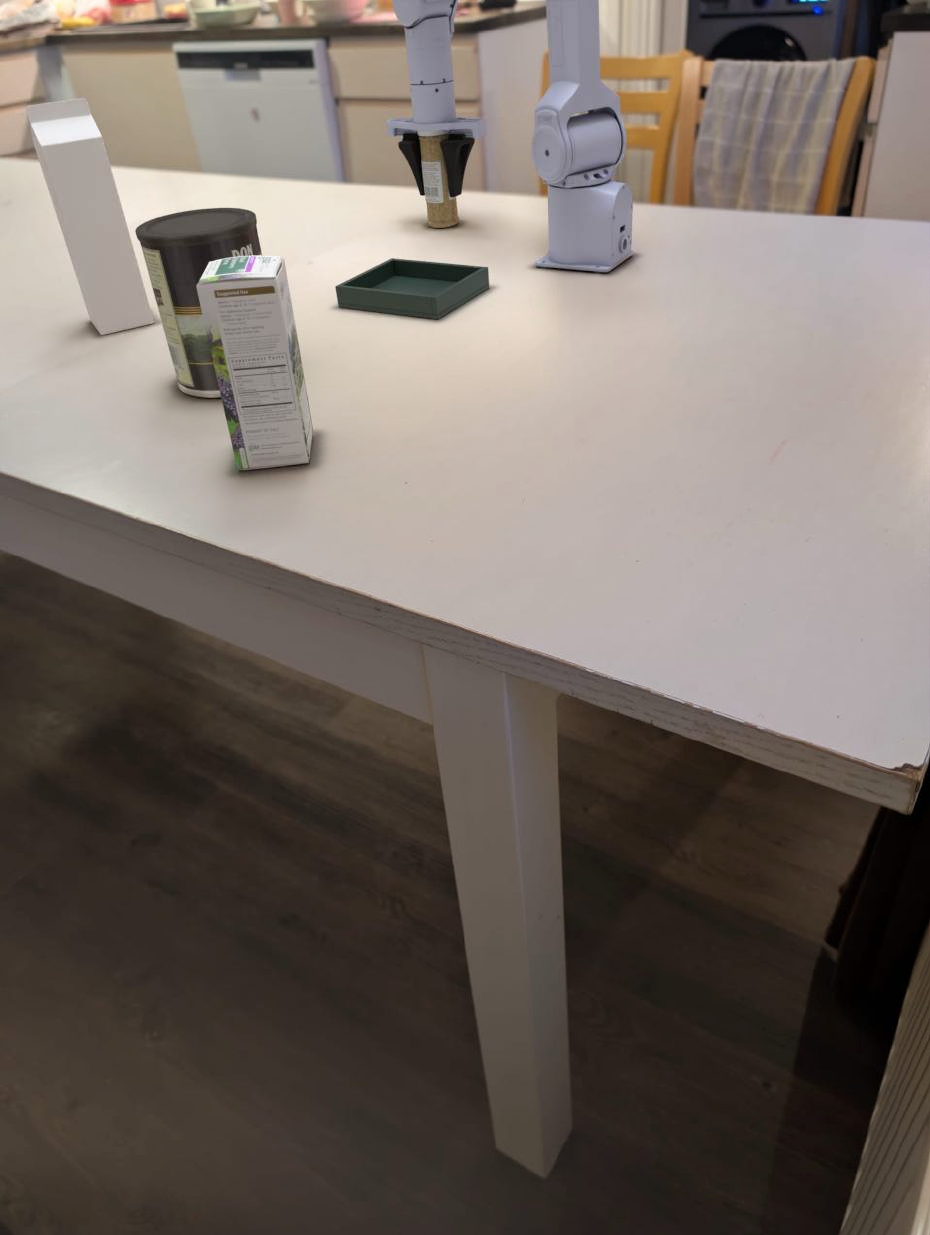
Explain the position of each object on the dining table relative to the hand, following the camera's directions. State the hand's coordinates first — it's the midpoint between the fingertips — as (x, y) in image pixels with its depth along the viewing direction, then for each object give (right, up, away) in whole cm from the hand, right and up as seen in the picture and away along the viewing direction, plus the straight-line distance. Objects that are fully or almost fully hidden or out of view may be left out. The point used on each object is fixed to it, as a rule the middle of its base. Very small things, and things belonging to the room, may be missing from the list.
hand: (440, 194), depth 126 cm
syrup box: (-12, -46, -53) cm, 71 cm away
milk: (-36, -25, -23) cm, 49 cm away
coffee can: (-19, -36, -39) cm, 56 cm away
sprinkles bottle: (0, -3, +2) cm, 4 cm away
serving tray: (-2, -22, -23) cm, 32 cm away
